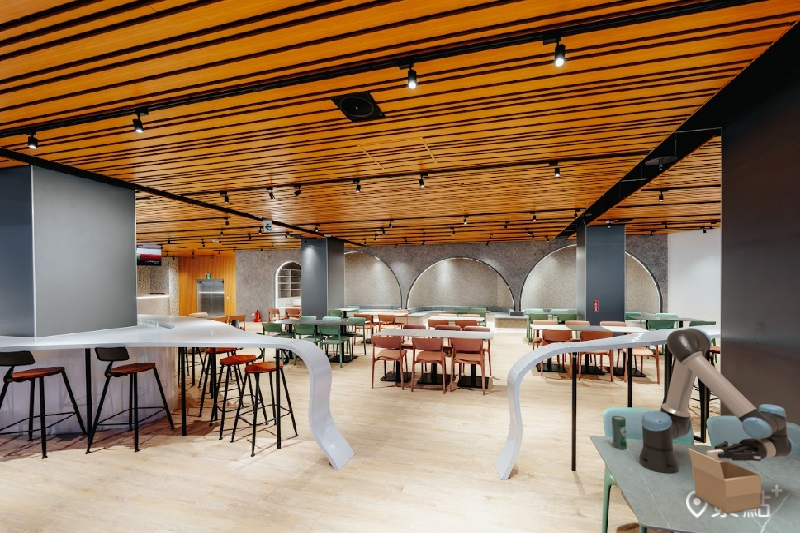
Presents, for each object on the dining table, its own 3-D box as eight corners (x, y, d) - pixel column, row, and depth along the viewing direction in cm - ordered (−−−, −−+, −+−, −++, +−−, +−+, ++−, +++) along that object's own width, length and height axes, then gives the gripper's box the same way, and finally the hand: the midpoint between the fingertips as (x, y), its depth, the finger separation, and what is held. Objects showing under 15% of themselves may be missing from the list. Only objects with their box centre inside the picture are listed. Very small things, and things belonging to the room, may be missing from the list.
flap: (724, 479, 140) (723, 480, 140) (693, 465, 151) (692, 465, 151) (719, 461, 140) (718, 462, 140) (689, 448, 151) (688, 448, 151)
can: (626, 450, 193) (625, 420, 194) (613, 448, 196) (611, 418, 197) (626, 446, 198) (625, 417, 199) (613, 443, 201) (612, 415, 202)
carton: (728, 514, 138) (726, 480, 139) (694, 495, 151) (692, 464, 152) (763, 508, 142) (761, 475, 142) (727, 490, 154) (725, 460, 155)
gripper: (776, 465, 143) (727, 473, 137) (739, 451, 155) (692, 457, 150) (775, 445, 143) (726, 452, 138) (737, 432, 156) (691, 438, 151)
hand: (708, 455), depth 144 cm, fingers closed
